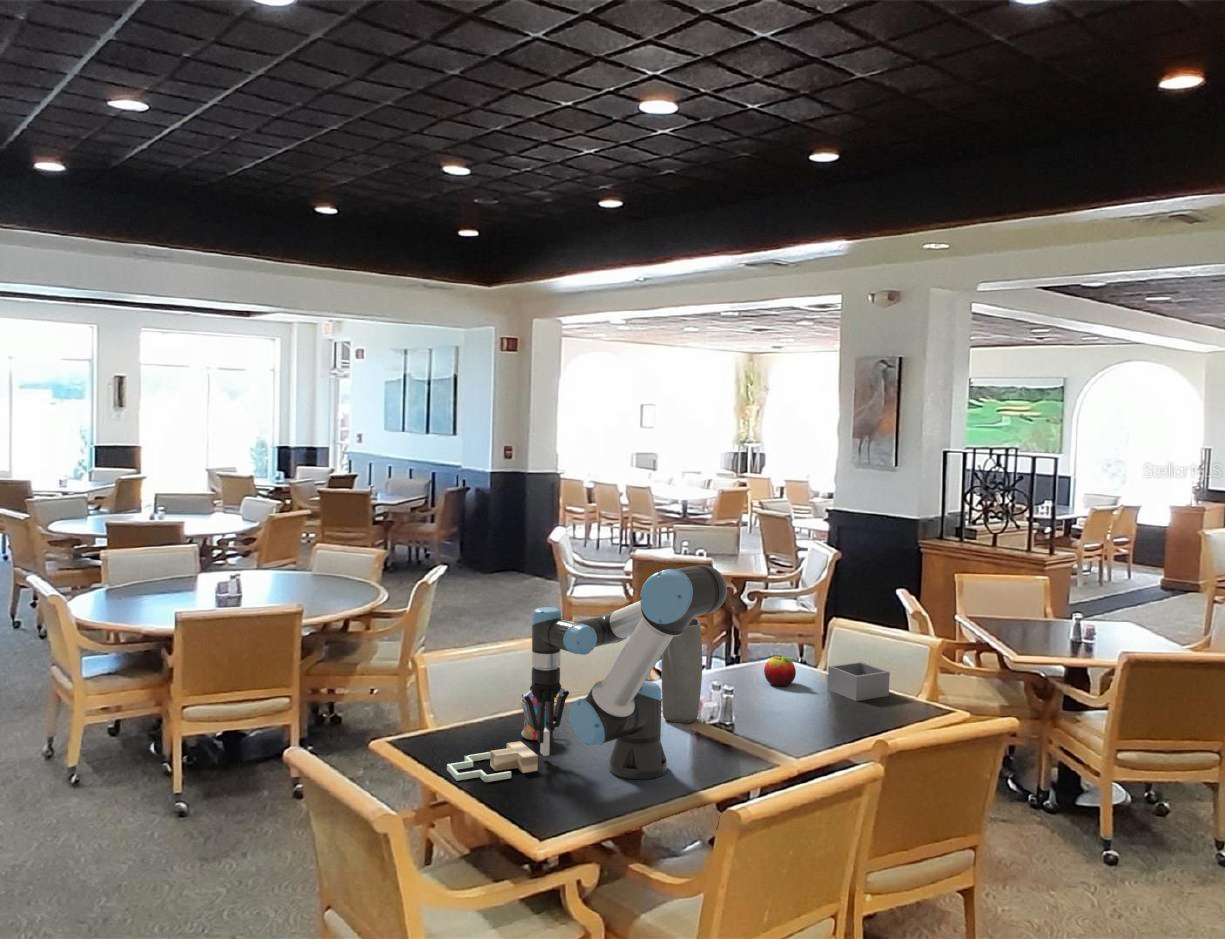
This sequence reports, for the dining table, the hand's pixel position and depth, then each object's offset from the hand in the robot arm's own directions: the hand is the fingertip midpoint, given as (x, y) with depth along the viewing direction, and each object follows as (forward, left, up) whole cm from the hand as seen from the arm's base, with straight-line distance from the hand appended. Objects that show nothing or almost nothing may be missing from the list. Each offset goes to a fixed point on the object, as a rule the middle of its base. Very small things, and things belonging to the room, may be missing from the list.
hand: (544, 753), depth 261 cm
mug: (+18, -6, -2) cm, 19 cm away
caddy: (+14, -119, -2) cm, 120 cm away
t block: (0, +10, -2) cm, 10 cm away
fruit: (+33, -101, -2) cm, 107 cm away
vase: (+14, -50, -2) cm, 52 cm away
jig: (0, +19, -2) cm, 19 cm away
